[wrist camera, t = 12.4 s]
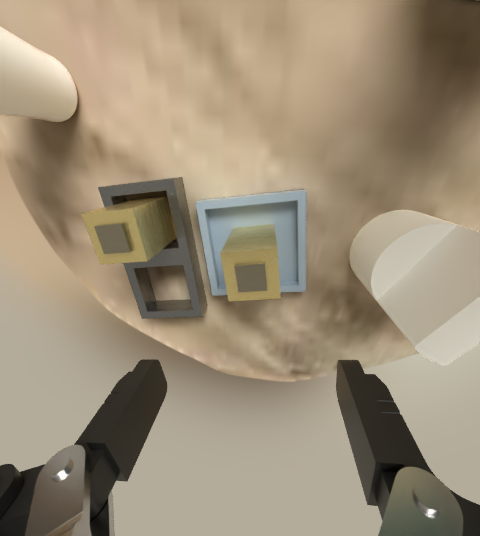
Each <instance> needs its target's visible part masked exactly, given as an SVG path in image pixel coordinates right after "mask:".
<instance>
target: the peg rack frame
mask: <svg viewBox="0 0 480 536" xmlns="http://www.w3.org/2000/svg"><path fill="white" fill-rule="evenodd" d="M98 189H99V192H100V194H101V197H102V200H103V203H104V206H105V207H108V206H112V205H116V204H119V203H123V202H126V199H125V195H130V194H138V193H147V192H156V191H165V190H166V192H167V197H168V201H169V205H170V210H171V214H172V219H173V223H174V227H175V232H176V236H177V241H178V242H171V243H169V244H168V245H167V246H166V247H164V248H163V249H162V250H161V251H159V252H158V253H157V254H156V255H155V256H153V257H152V258H151V259H150V260H148V261H145V262H130V263H124V266H125V269H126V272H127V275H128V278H129V281H130V284H131V287H132V290H133V293H134V296H135V299H136V302H137V305H138V308H139V311H140V314H141V316H142V319H145V318H176V317H203V314H204V312H205V310H206V307H207V301H206V296H205V291H204V286H203V281H202V276H201V271H200V266H199V261H198V256H197V251H196V246H195V240H194V235H193V230H192V225H191V220H190V215H189V210H188V205H187V200H186V195H185V190H184V185H183V179H182V177H179V178H170V179H162V180H154V181H145V182H137V183H129V184H120V185H112V186H105V187H98ZM176 265H183V267H184V272H185V276H186V280H187V285H188V289H189V294H190V298H191V300H171V301H156V299H155V296H154V293H153V289H152V286H151V283H150V279H149V276H148V273H147V269H146V267H160V266H176Z"/></svg>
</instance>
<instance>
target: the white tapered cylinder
mask: <svg viewBox="0 0 480 536" xmlns="http://www.w3.org/2000/svg"><path fill="white" fill-rule="evenodd" d="M77 102H78V97H77V90H76V86H75V83H74V81H73V79H72V77H71V75H70V73H69V72H68V70H67V69H66V68H65V67H64V66H63V65H62V64H61V63H60V62H59V61H58V60H57V59H55V58H54V57H52V56H51V55H49V54H47V53H45V52H43V51H41V50H39V49H37V48H35V47H34V46H32V45H30V44H29V43H27V42H25V41H24V40H22V39H20V38H19V37H17V36H15V35H14V34H12V33H10V32H9V31H7V30H6V29H4V28H2V27H1V26H0V115H2V116H13V117H23V118H33V119H41V120H46V121H52V122H63V121H66V120H68V119H69V118H70V117H71V116H72V115H73V114H74V112H75V110H76V107H77Z"/></svg>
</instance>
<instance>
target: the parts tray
mask: <svg viewBox="0 0 480 536" xmlns="http://www.w3.org/2000/svg"><path fill="white" fill-rule="evenodd" d="M195 203H196V209H197V214H198V219H199V225H200V230H201V236H202V241H203V247H204V252H205V258H206V263H207V269H208V274H209V280H210V285H211V291H212V296H215V295H227V290H226V284H225V278H224V272H223V267H222V261H221V255H220V252H221V250H222V248H223V247H224V245H225V243H226V241H227V239H228V237H229V235H230V233H231V231H232V229H233V228H238V227H247V226H257V225H267V224H274V227H275V234H276V242H277V250H278V265H279V279H280V293H281V292H303V291H306V190H304V189H299V190H290V191H280V192H271V193H261V194H252V195H242V196H233V197H223V198H214V199H204V200H199V201H197V202H195Z"/></svg>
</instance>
